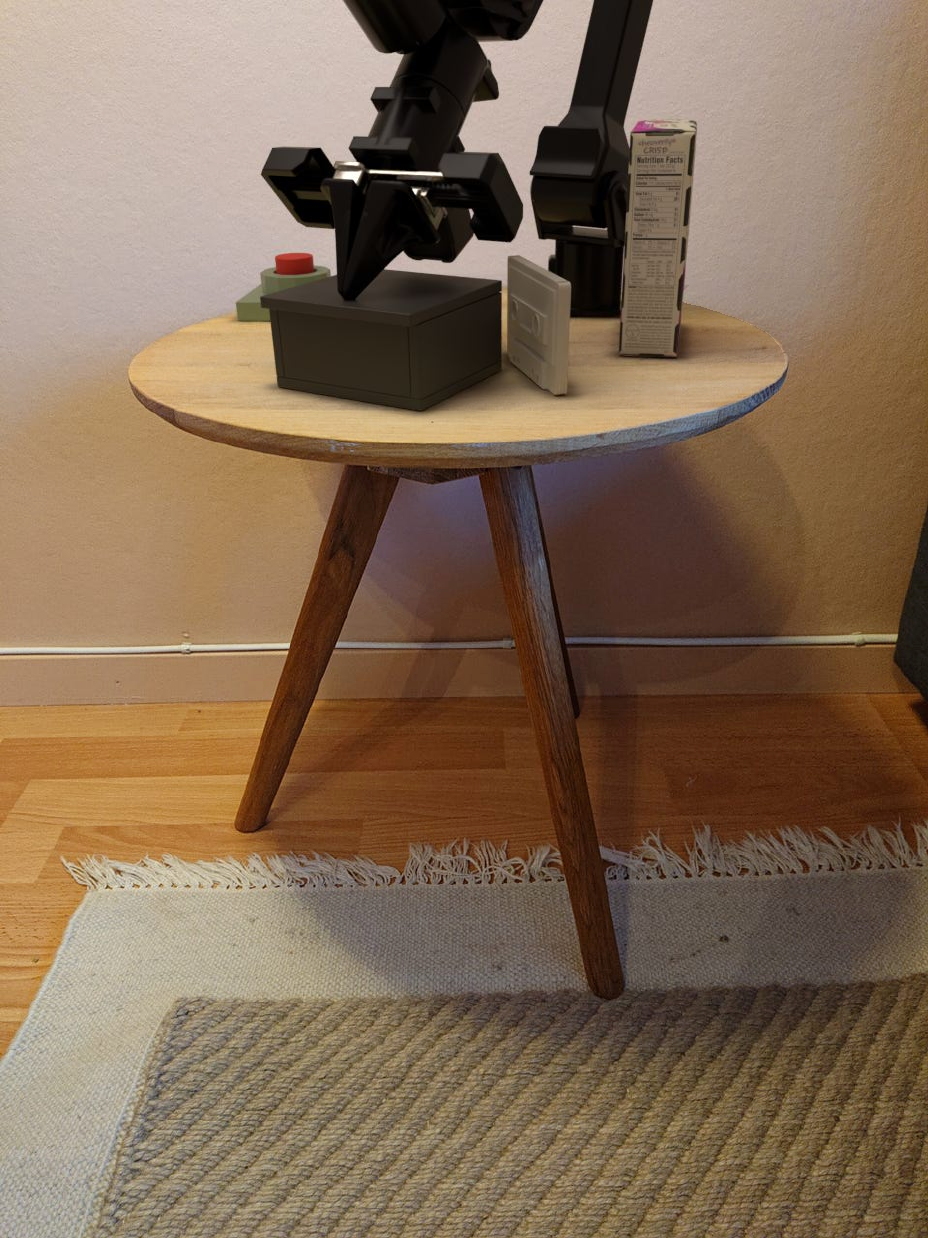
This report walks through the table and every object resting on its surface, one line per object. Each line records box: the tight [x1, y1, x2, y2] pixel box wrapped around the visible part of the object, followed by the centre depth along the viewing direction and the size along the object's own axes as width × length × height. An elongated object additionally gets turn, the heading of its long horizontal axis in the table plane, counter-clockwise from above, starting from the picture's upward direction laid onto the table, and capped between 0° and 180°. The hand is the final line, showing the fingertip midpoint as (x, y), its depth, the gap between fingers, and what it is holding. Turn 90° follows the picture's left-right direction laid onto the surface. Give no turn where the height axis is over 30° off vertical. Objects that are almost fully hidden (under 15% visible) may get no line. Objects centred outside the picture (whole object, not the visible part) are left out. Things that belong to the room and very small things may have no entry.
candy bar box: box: [618, 118, 698, 358], centre depth 77 cm, size 11×5×16 cm, turn 168°
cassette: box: [506, 254, 571, 396], centre depth 71 cm, size 12×2×8 cm, turn 15°
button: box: [274, 252, 315, 275], centre depth 93 cm, size 4×4×2 cm
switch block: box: [235, 264, 332, 322], centre depth 94 cm, size 11×9×4 cm
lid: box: [260, 268, 503, 327], centre depth 69 cm, size 12×13×1 cm
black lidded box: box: [269, 291, 503, 412], centre depth 71 cm, size 12×13×6 cm
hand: (345, 296), depth 66 cm, fingers closed, pressing on lid
